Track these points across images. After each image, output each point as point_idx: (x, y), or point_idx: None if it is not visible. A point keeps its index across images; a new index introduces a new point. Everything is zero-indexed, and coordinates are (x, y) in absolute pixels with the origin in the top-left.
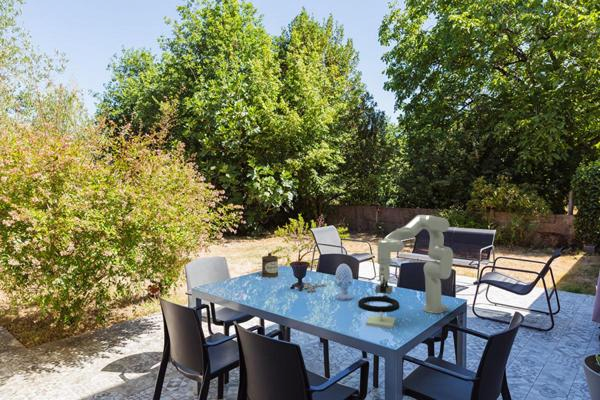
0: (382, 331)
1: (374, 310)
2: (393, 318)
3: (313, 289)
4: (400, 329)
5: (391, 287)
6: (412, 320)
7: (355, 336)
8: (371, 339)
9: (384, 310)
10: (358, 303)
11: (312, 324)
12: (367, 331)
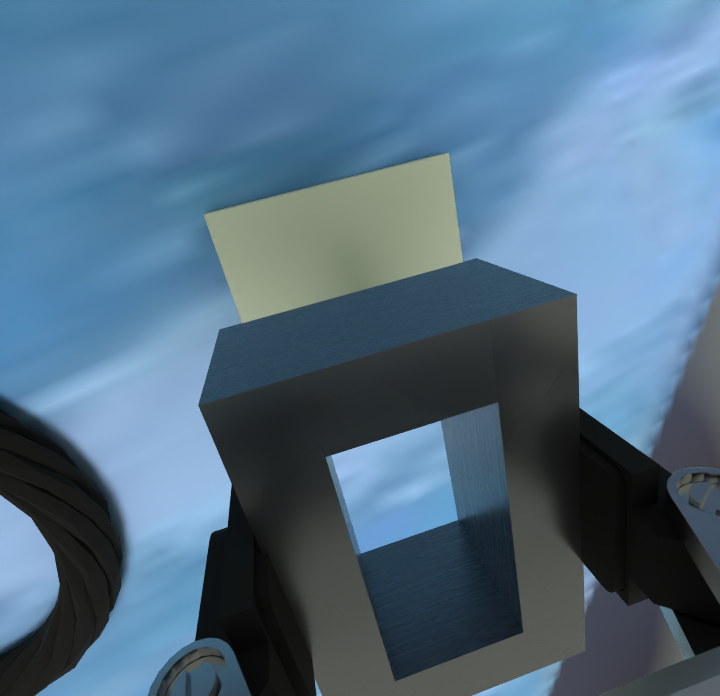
0: (544, 200)
1: (102, 498)
2: (240, 229)
3: None
4: (432, 66)
5: (445, 330)
6: (67, 28)
7: (688, 319)
8: (712, 203)
9: (30, 429)
10: (62, 675)
11: (586, 594)
12: (583, 299)
